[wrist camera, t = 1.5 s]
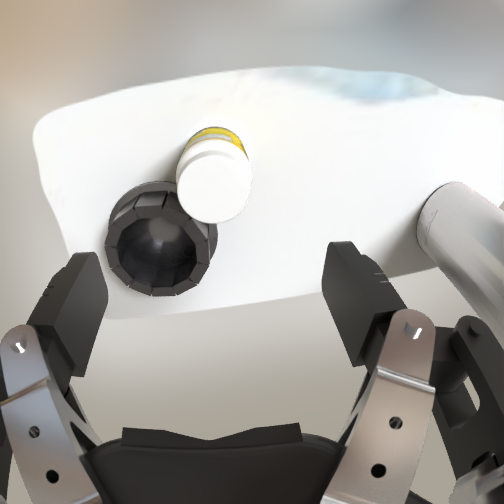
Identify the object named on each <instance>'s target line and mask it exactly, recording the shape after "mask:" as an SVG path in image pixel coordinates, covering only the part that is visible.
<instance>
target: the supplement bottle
mask: <svg viewBox="0 0 504 504" xmlns="http://www.w3.org/2000/svg"><path fill="white" fill-rule="evenodd" d="M176 183H177V195H178V199H179V202H180V204H181V206H182V208H183V209H184V210H185V211H186V212H187V213H188V214H189V215H190V216H191V217H193V218H194V219H196V220H198V221H201V222H204V223H212V224H216V223H222V222H226V221H228V220H231V219H233V218H234V217H236V216H237V215H238V214H239V213H240V212H241V211H242V210H243V209H244V207H245V206H246V204H247V202H248V199H249V195H250V187H251V183H252V169H251V165H250V162H249V159H248V157H247V154H246V152H245V149H244V146H243V144H242V142H241V140H240V139H239V137H238V136H237V135H236V134H235V133H233V132H232V131H230V130H228V129H226V128H223V127H208V128H205V129H202V130H200V131H198V132H197V133H196V134H194V135H193V136H192V137H191V139H190V140H189V142H188V144H187V145H186V147H185V150H184V152H183V154H182V156H181V158H180V160H179V162H178V165H177V169H176Z"/></svg>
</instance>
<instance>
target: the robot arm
mask: <svg viewBox="0 0 504 504" xmlns="http://www.w3.org/2000/svg"><path fill="white" fill-rule="evenodd" d="M417 239H418V243H419V245H420V247H421V248H422V249H423V250H424V251H425V253H426V254H427V255H428V256H429V257H430V258H431V259H432V260H433V261H434V263H435V264H436V265H437V266H438V267H439V268H440V270H441V271H442V272H443V273H444V274H445V275H446V277H447V278H448V279H449V280H450V281H451V282H452V283H453V285H454V286H455V287H456V288H457V290H459V292H460V293H461V294H462V296H463V297H464V298H465V299H466V300H467V302H468V303H469V304H470V305H471V307H472V308H473V309H474V311H475V312H476V313H477V315H478V316H479V317H480V318H481V319H479V318H477V317H474V316H463V317H461V318H460V319H459V321H458V322H457V324H456V326H455V328H447V327H436V326H434V324H433V322H432V321H431V319H430V318H429V317H427V316H426V315H425V314H423V313H421V312H419V311H417V310H413V309H408V308H407V307H406V305H405V304H404V302H403V301H402V299H401V298H400V296H399V295H398V293H397V292H396V290H395V289H394V287H393V286H392V284H391V283H390V282H389V280H388V279H387V277H386V276H385V274H383V271H382V270H381V269H380V267H379V266H378V264H377V263H376V262H375V261H373V260H372V259H370V258H369V257H368V256H366V255H361V254H360V252H359V251H358V250H357V248H356V247H355V245H354V244H353V243H352V242H351V241H345V242H330V243H329V245H328V248H327V253H326V259H325V265H324V270H323V276H322V292H323V296H324V298H325V300H326V303H327V305H328V307H329V310H330V312H331V314H332V317H333V319H334V322H335V324H336V326H337V329H338V331H339V333H340V336H341V339H342V341H343V343H344V346H345V348H346V351H347V353H348V356H349V358H350V361H351V363H352V366H353V367H356V366H362V365H365V366H366V368H367V370H368V371H367V373H366V375H365V377H364V380H363V382H362V385H361V388H360V390H359V392H358V395H357V397H356V399H355V402H354V404H353V406H352V409H351V411H350V414H349V416H348V418H347V420H346V422H345V424H344V426H343V428H342V429H341V431H340V433H339V435H338V437H337V439H336V441H333V440H330V439H328V438H325V437H321V436H318V435H312V434H307V433H301V429H300V425H299V423H293V424H285V425H278V426H269V427H258V428H253V429H250V430H246V431H243V432H240V433H236V434H233V435H230V436H226V437H222V438H219V439H215V440H203V439H197V438H194V437H189V436H185V435H181V434H177V433H173V432H169V431H165V430H153V429H137V428H125V427H123V431H122V438H119V439H115V440H112V441H109V442H106V443H103V442H102V441H101V440H100V438H99V437H98V436H97V434H96V433H95V431H94V430H93V428H92V427H91V425H90V423H89V421H88V419H87V417H86V415H85V413H84V411H83V409H82V407H81V405H80V403H79V401H78V399H77V397H76V394H75V392H74V390H73V388H72V386H71V385H70V383H69V382H70V379H71V376H76V377H84V375H85V372H86V368H87V364H88V361H89V358H90V355H91V351H92V348H93V345H94V342H95V339H96V335H97V333H98V330H99V326H100V324H101V321H102V318H103V315H104V312H105V309H106V307H107V303H108V289H107V285H106V282H105V279H104V276H103V273H102V270H101V266H100V263H99V260H98V256H97V255H96V253H95V252H81V253H74V254H73V256H72V257H71V259H70V260H69V262H68V264H67V265H66V267H63V268H62V269H61V270H60V271H59V272H58V273H56V274H55V275H54V276H53V277H52V279H51V281H50V282H49V284H48V286H47V288H46V289H45V291H44V293H43V296H42V297H41V298H40V299H39V302H38V303H37V305H36V307H35V308H34V310H33V312H32V314H31V316H30V318H29V320H28V321H27V323H26V325H19V326H16V327H14V328H12V329H11V330H9V331H8V332H7V333H6V334H5V336H4V337H3V338H2V340H1V343H0V504H7V503H6V499H7V488H8V480H9V472H10V464H11V458H12V453H13V454H14V457H15V460H16V463H17V465H18V468H19V471H20V474H21V476H22V479H23V481H24V484H25V486H26V489H27V491H28V493H29V496H30V498H31V500H32V502H33V504H432V503H431V502H429V501H427V500H425V499H423V498H422V497H420V496H419V495H417V494H415V493H414V492H412V491H410V487H411V485H412V481H413V479H414V475H415V473H416V469H417V466H418V463H419V460H420V456H421V452H422V449H423V446H424V442H425V438H426V434H427V430H428V426H429V421H430V417H431V412H433V415H434V417H435V420H436V423H437V425H438V428H439V430H440V433H441V436H442V439H443V442H444V444H445V447H446V450H447V453H448V456H449V459H450V462H451V465H452V468H453V471H454V474H455V477H456V481H457V482H456V484H455V486H454V489H453V493H452V494H451V495H450V497H449V504H504V211H502V210H501V209H499V208H498V207H497V206H496V205H494V204H493V203H491V202H490V201H489V200H487V199H486V198H484V197H483V196H481V195H480V194H479V193H477V192H476V191H474V190H472V189H471V188H469V187H468V186H466V185H464V184H462V183H458V182H453V183H448V184H446V185H444V186H442V187H441V188H439V189H438V190H436V191H435V192H434V193H433V195H432V196H431V197H430V198H429V199H428V201H427V202H426V203H425V205H424V207H423V209H422V211H421V214H420V217H419V219H418V225H417ZM468 376H469V378H470V380H471V382H472V384H473V386H474V388H475V390H476V392H477V394H478V396H479V399H480V406H479V410H478V411H477V410H476V408H475V406H474V404H473V401H472V400H471V397H470V395H469V393H468V391H467V389H466V387H465V385H464V383H463V382H464V381H465V379H466V378H467V377H468Z"/></svg>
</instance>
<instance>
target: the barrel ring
mask: <svg viewBox="0 0 504 504" xmlns="http://www.w3.org/2000/svg"><path fill="white" fill-rule="evenodd" d="M217 238H218V231H217V224H212V223H204V222H201V221H198V220H196V219H194V218H193V217H191V216H190V215H189V214H188V213H187V212H186V211H185V210H184V209H183V208H182V206H181V204H180V202H179V199H178V195H177V184H175V183H171V182H164V181H155V182H148V183H145V184H141V185H139V186H136V187H134V188H133V189H131V190H129V191H128V192H127V193H126V194H124V195H123V196H122V197H121V199H120V200H119V201H118V202H117V204H116V205H115V207H114V209H113V211H112V213H111V216H110V220H109V232H108V235H107V238H106V241H105V246H104V247H105V251H106V254H107V258H108V262H109V265H110V268H112V269H111V270H112V271H113V272H114V273H115V274H116V275H117V276H118V277H119V278H120V279H121V280H122V281H123V282H124V284H125V285H126V286H128V285H129V288H132V289H134V290H137V291H139V292H141V293H144V294H146V295H149V296H151V294H152V296H176V294H177V295H179V294H181V293H183V292H185V291H187V290H189V289H191V288H193V287H195V286H197V284H199V282H200V280H201V279H202V277H203V275H204V274H205V272H206V271H207V269H208V267H209V264H210V260H211V258H212V256H213V254H214V252H215V249H216V246H217Z"/></svg>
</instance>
